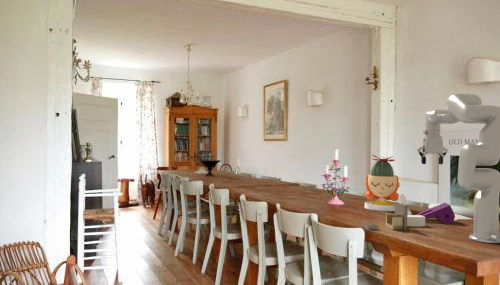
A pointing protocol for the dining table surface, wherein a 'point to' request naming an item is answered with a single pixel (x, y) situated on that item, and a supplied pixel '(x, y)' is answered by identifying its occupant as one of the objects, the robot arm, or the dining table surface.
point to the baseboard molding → (461, 218)
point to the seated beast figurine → (402, 201)
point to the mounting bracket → (440, 213)
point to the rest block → (370, 225)
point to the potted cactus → (382, 186)
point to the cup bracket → (397, 217)
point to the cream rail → (415, 220)
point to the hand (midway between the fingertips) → (432, 164)
